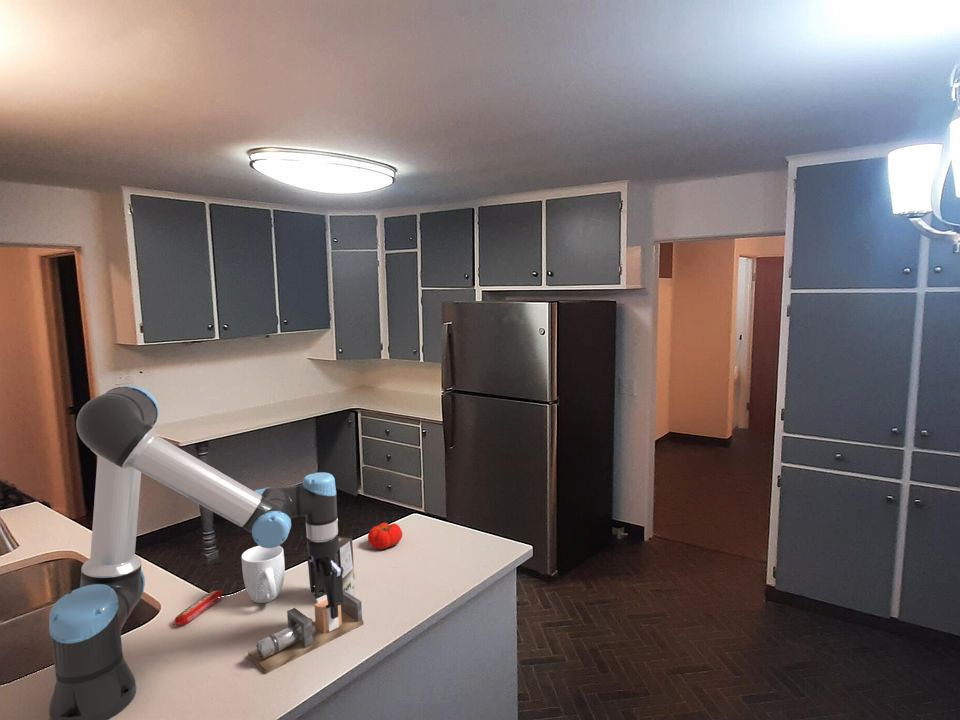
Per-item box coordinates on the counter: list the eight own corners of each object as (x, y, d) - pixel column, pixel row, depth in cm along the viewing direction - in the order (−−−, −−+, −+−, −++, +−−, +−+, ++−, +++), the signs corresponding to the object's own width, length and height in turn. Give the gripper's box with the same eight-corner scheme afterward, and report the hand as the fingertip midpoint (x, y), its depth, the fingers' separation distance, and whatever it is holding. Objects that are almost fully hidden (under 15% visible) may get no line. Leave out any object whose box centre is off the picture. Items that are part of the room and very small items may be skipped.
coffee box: (356, 592, 165) (353, 538, 163) (343, 604, 159) (340, 548, 157) (329, 587, 168) (326, 533, 166) (315, 598, 163) (312, 543, 161)
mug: (295, 605, 159) (292, 560, 157) (252, 619, 153) (249, 571, 151) (280, 583, 171) (277, 540, 170) (240, 594, 165) (237, 550, 164)
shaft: (264, 662, 133) (263, 645, 133) (256, 654, 136) (255, 638, 136) (316, 637, 143) (315, 621, 142) (307, 630, 145) (306, 615, 145)
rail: (266, 673, 131) (263, 643, 130) (248, 656, 137) (246, 627, 136) (363, 624, 150) (362, 597, 149) (343, 611, 156) (342, 585, 155)
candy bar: (214, 596, 165) (213, 586, 165) (225, 597, 165) (224, 587, 164) (171, 628, 150) (170, 617, 150) (183, 630, 149) (182, 619, 149)
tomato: (363, 547, 194) (362, 528, 193) (386, 535, 203) (385, 517, 202) (384, 555, 188) (384, 535, 187) (407, 542, 197) (407, 523, 196)
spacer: (324, 633, 144) (322, 610, 143) (315, 627, 147) (314, 604, 146) (341, 624, 148) (340, 602, 147) (333, 618, 151) (331, 596, 150)
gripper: (355, 541, 141) (360, 631, 144) (318, 522, 153) (323, 606, 156) (328, 551, 136) (333, 645, 139) (291, 531, 148) (297, 618, 151)
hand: (328, 624), depth 147 cm, fingers closed on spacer, 4 cm apart
